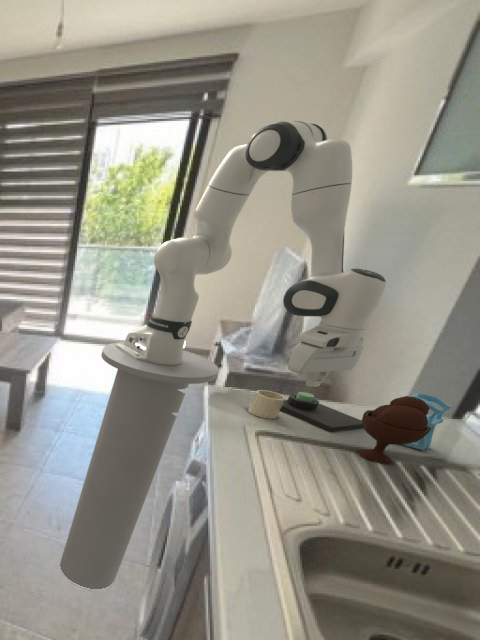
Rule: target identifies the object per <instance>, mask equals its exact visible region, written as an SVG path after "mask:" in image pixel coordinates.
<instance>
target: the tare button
mask: <svg viewBox="0 0 480 640" xmlns="http://www.w3.org/2000/svg"><path fill="white" fill-rule="evenodd" d="M296 394H297V396H296V399H299V400H301V401H305V402H312V401H313V399H315V395H314V394H312V393H309V392H306V391H298V393H296Z"/></svg>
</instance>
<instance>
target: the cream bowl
mask: <svg viewBox="0 0 480 640" xmlns="http://www.w3.org/2000/svg"><path fill="white" fill-rule="evenodd" d="M285 400H287V399H286V396H284V395H283V394H282V393H278V392H275V391H272V390H267V389H258V390H256V391H255V393H254V395H253V397H252V399H251V402H250V404H249V406H248V408H247V411H248V412H249V413H250V414H251V415H254V416H255V417H258V418H259V417H260V418H263V419H268V420H269V419H271V420H272V419H276V418H277V417H278V416H279V413H281V412H280V411H282V410H281V408H282V405H283V403H284V401H285Z"/></svg>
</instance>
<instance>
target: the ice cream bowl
mask: <svg viewBox="0 0 480 640" xmlns="http://www.w3.org/2000/svg"><path fill="white" fill-rule="evenodd" d="M410 396H411V395H410ZM410 396H408V395H404V396H400V397H395V398H394V399H392V400H390V402H389V404H384V405H380V406H378V407H377V408H375V409H371V410H369V409H367V410H366V411H364V413H363V415H362V418H361V420H362V426H363V429H364V431H365V432H366V433H367V434H368V435H369V436H370V437H371V438H372V439H374V440H375V441H376V443H375V446H374V447H373V448H369V449H368V448H367V449H361V450H360V451H359V452H358V455H359V456H360V457H362V458H363V459H366V460H368V461H370V462H374V463H378V464H387V465H388V464H389V463H390V462H391V458H390V457H389V456H388V455H387V454H386V453H385V452H384V451H385V450H386V448H387V447H388V446H390V445H393V446H394V445H397V446H401V445H402V444H409V443H413V442H417V441H419V440H420V439H422V438H424V437H425V436H426V435H427V434H428V433H429V431H430V430H431V429H432V428H430V427H428V426H427V425H428V420H427V416H426V415H429V410H430V409H429V407H428V405H427V404H426V403H425V401H423V400H421V399H420V398H416V397H410Z"/></svg>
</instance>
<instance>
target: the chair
mask: <svg viewBox="0 0 480 640" xmlns="http://www.w3.org/2000/svg"><path fill="white" fill-rule="evenodd" d="M410 397H416V398H420V399H421V400H423V401H425V403H426V404H427V405H428V407H429V410H430V411H432V412H433V413H432V414H427V415H426V416H427V420H428V425H427V426H428V427H430V428H432V429H431V430H430V431H429V433H428V434H427V435H426V436H425V437H424V438H422V439H420V440H419V441H417V442H413V443H409V444H402V445H403V446H406V447H410V448H413V449H416V450H419V451H425V450H426V449H430V447H431V444H432V439H433V436H434V432H435V428H436V426H437V425H440V424H442V423H443V422H444V421H445V419H444V418H442V417H443V415H444V414H445V413H446V412H447V411H448V410H450V409H451V408H453V406H451V405H449V404H447V403H445V402H444V401H443V400H441V399H440V398H438V397H436V396H434V395H428V394H423V393H413V394H412V395H410ZM433 403H435V404H437V405H438V406H440V407H441V408H442V409H440V408H438V407H437V406H436V405H435V404H433Z"/></svg>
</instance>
